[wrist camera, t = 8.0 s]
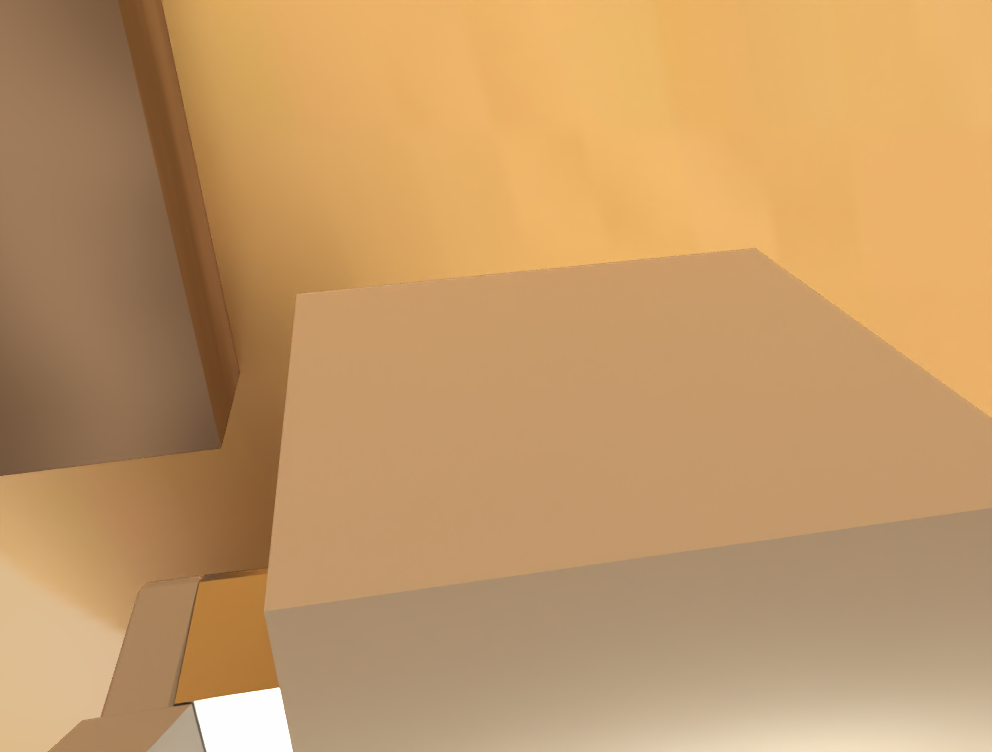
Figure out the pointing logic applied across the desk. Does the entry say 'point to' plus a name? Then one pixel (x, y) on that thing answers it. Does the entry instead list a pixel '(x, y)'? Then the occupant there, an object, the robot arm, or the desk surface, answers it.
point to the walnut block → (103, 245)
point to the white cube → (625, 521)
